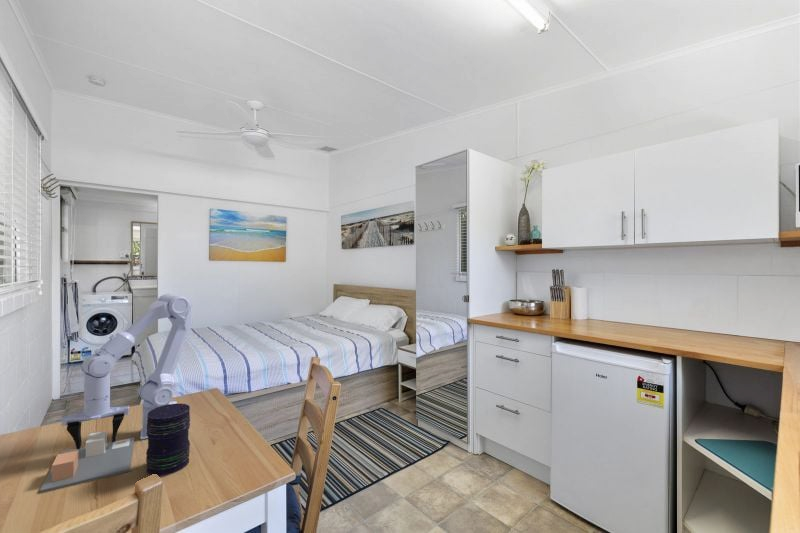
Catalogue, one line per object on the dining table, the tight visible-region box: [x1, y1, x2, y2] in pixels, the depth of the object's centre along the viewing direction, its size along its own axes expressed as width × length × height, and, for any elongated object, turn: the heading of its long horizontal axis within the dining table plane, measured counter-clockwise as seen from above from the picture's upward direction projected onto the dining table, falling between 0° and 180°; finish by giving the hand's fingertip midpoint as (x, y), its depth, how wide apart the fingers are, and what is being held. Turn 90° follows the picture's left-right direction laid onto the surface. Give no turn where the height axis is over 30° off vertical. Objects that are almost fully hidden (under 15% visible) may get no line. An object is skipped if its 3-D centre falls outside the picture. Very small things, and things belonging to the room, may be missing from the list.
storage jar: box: [145, 403, 191, 477], centre depth 97 cm, size 10×10×15 cm
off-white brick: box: [85, 430, 108, 457], centre depth 103 cm, size 4×6×4 cm, turn 34°
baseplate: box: [39, 436, 135, 494], centre depth 98 cm, size 17×20×1 cm
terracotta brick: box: [51, 451, 78, 482], centre depth 92 cm, size 4×6×4 cm, turn 34°
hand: (96, 444), depth 103 cm, fingers open, 7 cm apart
